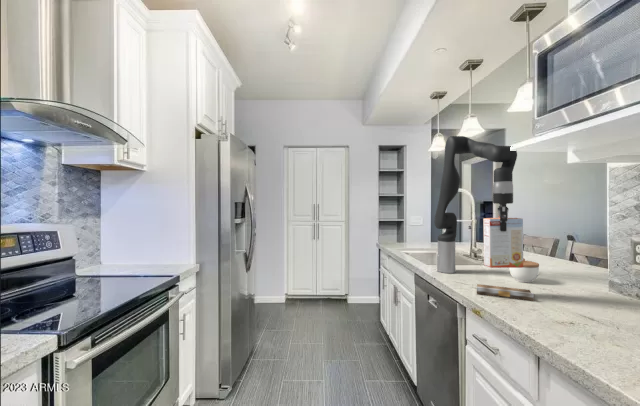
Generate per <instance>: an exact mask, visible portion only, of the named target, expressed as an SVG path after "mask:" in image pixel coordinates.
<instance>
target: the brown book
mask: <svg viewBox="0 0 640 406" xmlns="http://www.w3.org/2000/svg"><path fill="white" fill-rule="evenodd" d="M476 295H478V296H479V295H480V296H487V297H488V296H489V297H496V298H501V299H502V298H503V299H511V300H520V301H528V302H534V301H535V300H534V297H535V294H534V292H532V291H531V290H530V289H526V288H517V287H516V288H515V287H507V286H499V285H497V286H496V285H490V284H489V285H487V284H480V283H479V284H477V283H476Z"/></svg>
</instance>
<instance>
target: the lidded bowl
mask: <svg viewBox="0 0 640 406" xmlns="http://www.w3.org/2000/svg"><path fill="white" fill-rule="evenodd" d="M539 268H540V263H538V262H536V261H530V260H526V259H525V258H524V257H523V268H508V269H509V273H510V275H511V277H512V278H513V279H514V280H515V281H516V282H520V283H529V284H530V283H533V281H535V280H536V279H537V278H538V276H539V272H540V269H539Z"/></svg>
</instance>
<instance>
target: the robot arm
mask: <svg viewBox="0 0 640 406" xmlns="http://www.w3.org/2000/svg"><path fill="white" fill-rule="evenodd" d="M511 146H512V145H496V144H494V143H490V142H483V141H476V140H474V139H472V138H470V137H466V136H463V135H461V136H460V135H449V137H448V138H447V139H446V141H445V146H444V159H443V170H442V171H443V172H442V175H441V183H440V190H439V197H438V202H437V207H436V210H435V215H434V226H435V228H436V229H439V230H445V231H444V232H443V233H442V234H438V236H437V254H436V272H439V273H444V274H454V273H456V237H457V231H458V229H457V228H458V227H457V226H458V218H457V216H456V215H457V214H455V213H454V212H447V209H448V206H449V204H450V203H451V202H452V201H453V199H454V198H455V197H456V196H457V194H458V192H459V191H460V190H459V189H460V182H461V176H460V174H459V172H458V169H457V168H456V163H455V158H456V157H455V156H456V155H463V154H473V155H474V156H475V157H478V158H482V159H485V160H487V161H490V162H492V163H501V166H500V167H498V168H495V169H494V170H493V183H492V203H493V204H495V205H496V204H498V205H499V206H498V207H497V218H500V231H506V226H507V223H505V222H507V220H508V219H507V218H509V207H508V206H507V204H510V205H511V204H514V184H513V183H514V182H513V171H514V168H515V165H516V162H517V159H518V152H517V150H516V151H510V147H511Z"/></svg>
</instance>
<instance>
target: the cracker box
mask: <svg viewBox="0 0 640 406" xmlns="http://www.w3.org/2000/svg"><path fill="white" fill-rule="evenodd" d="M507 219H508V220H507V222H505V223H507V226H506V231H500V218H499V217H486V218H485V217H484V218H483V219H482V221H483V265H484V266H485V267H488V268H491V269H492V268H493V269H497V268H499V269H501V268H504V269H505V268H506V269H507V268H508V269H509V268H523V258H524V218H522V217H521V218H520V217H508V218H507Z"/></svg>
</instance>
